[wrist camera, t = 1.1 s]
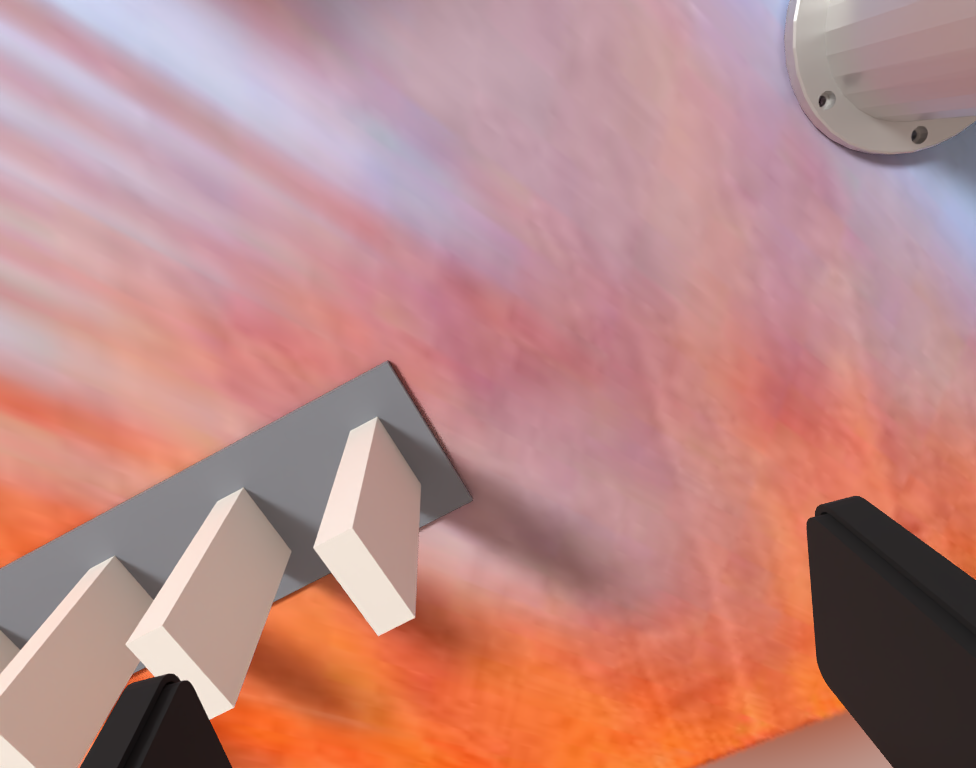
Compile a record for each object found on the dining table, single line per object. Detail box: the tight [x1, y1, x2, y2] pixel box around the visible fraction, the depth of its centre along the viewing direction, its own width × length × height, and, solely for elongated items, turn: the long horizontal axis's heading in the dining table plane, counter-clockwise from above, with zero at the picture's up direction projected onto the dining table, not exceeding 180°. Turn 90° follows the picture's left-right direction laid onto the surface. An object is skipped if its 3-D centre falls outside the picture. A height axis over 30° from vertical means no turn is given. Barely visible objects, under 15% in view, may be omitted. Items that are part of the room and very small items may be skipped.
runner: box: [0, 361, 473, 673], centre depth 40 cm, size 42×10×1 cm, turn 118°
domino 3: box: [313, 417, 421, 636], centre depth 32 cm, size 2×5×12 cm, turn 28°
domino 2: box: [125, 487, 292, 720], centre depth 33 cm, size 2×5×12 cm, turn 28°
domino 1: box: [0, 556, 154, 768], centre depth 34 cm, size 2×5×12 cm, turn 28°
